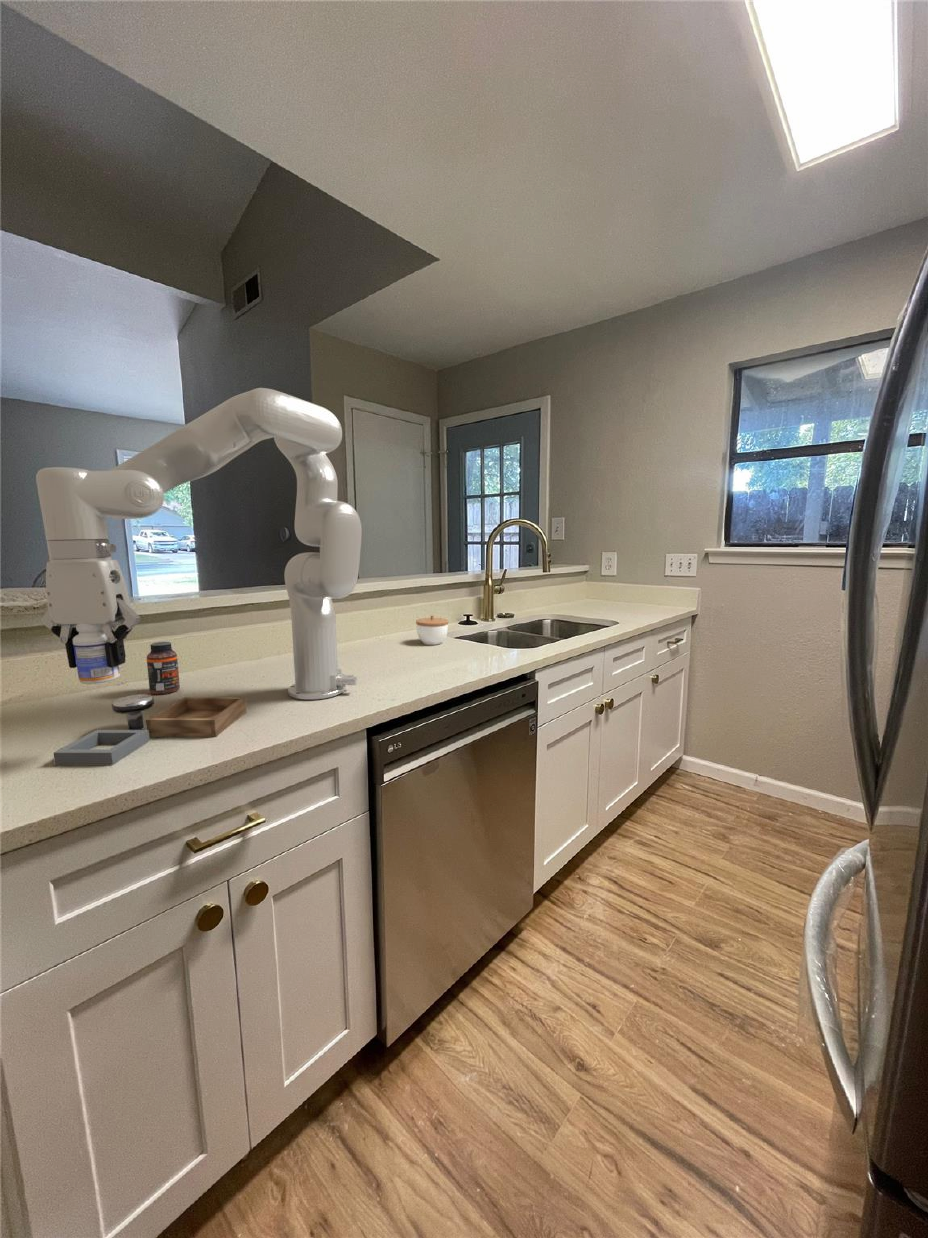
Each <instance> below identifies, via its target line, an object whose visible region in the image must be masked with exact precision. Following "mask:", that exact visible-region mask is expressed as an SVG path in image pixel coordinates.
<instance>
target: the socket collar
mask: <svg viewBox="0 0 928 1238" xmlns="http://www.w3.org/2000/svg"><path fill="white" fill-rule="evenodd" d="M148 742H151V741H150V736H149V730H147V729H141V730H128V729H96V730H94V731H91V732H90V733H88V734H86V735H85V736H82V737H80V738H78V739H77V740H75V741H73V742H70V743H69V744H67V745H65V746H63V747H61V748H60V749H57V750H55V751H54V752H53V759H54V765H57V766H59V765H60V766H62V765H64V766H67V765H69V766H71V765H72V766H73V765H76V766H78V765H81V766H83V765H84V766H85V765H86V766H90V765H91V766H96V765H97V766H100V765H101V766H103V765H104V766H105V765H106V766H109V765H110V766H113V765H115V764H116V763H118V762H120V761H121V760H123V759H124V758H126V757H127V756H128V755H130V754H132V753H133V752H135V751H137V750H138V749H139V748H141V747H142V746H144V745H145V744H147V743H148ZM100 744H101V745H105V744H107V745H111V744H114V745H113V747H111V748H109V749H107V748H106V749H105V748H104V749H101V748H99V749H98V748H97V749H96V748H95V749H93V748H94V747H97V746H98V745H100ZM115 744H116V745H115Z"/></svg>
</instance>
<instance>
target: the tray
mask: <svg viewBox="0 0 928 1238" xmlns="http://www.w3.org/2000/svg"><path fill="white" fill-rule="evenodd" d="M246 703H247V702H246V697H226V696H225V697H218V696H217V697H214V696H213V697H212V696H211V697H208V696H206V697H201V696H200V697H196V696H195V697H194V696H193V697H192V696H190V697H189V696H188V697H186V696H185V697H183V698H181V699H180V700H177V701H176V702H174V703H173V704H170V705H169V706H168V707H166V708H164V709H162V710H161V711H159V712H157V713H155V714H153V715H152V716H149V717H148V718H146V719H145V725H146V730H149V737H182V738H184V737H186V738H188V737H194V738H195V737H197V738H198V737H200V738H204V737H207V738H208V737H212V738H213V737H217V736H219V735H220V734H222V733H223V732H224V731H225V730H227V729H228V727H230V726H231V725H232V724H234V723H235V722H236V721H238V720H239V719H240V718H241V717H243V716H244V715H245V714H246V713H247V704H246Z"/></svg>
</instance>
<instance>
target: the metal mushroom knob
mask: <svg viewBox="0 0 928 1238" xmlns="http://www.w3.org/2000/svg"><path fill="white" fill-rule="evenodd" d="M154 698H155V697H154V696H153V695H151V694H146V693H144V694H143V693H142V694H131V695H126V696H123V697H119V698H116V699H115V700H113V701H112V703H111V709H112V712H114V713H115V714H121V715H125V714H126V719H127V730H144V728H145V723H144V716H143V715H144V714H143V713H144V712H143V711H146V710H149V709H151V708H152V707H154V705H155V699H154Z"/></svg>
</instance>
